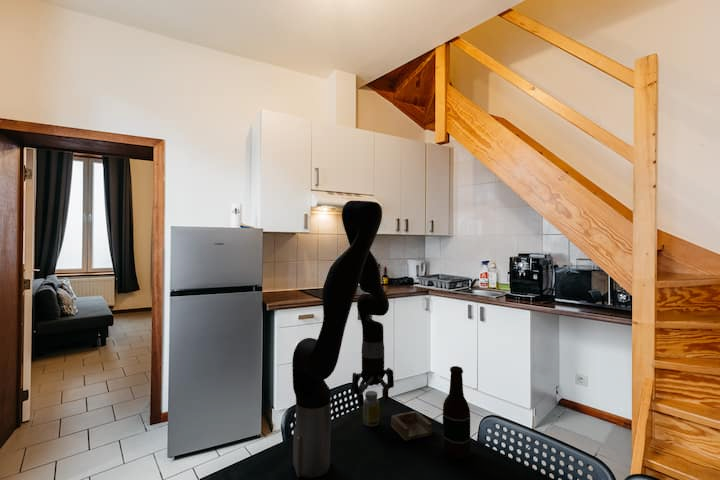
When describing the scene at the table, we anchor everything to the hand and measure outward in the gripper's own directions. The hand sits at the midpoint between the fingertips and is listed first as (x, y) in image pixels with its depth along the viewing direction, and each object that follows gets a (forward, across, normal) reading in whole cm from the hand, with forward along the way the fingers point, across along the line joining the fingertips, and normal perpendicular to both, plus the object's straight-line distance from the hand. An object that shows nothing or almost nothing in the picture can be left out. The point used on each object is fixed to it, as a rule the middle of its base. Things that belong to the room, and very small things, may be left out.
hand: (373, 402), depth 116 cm
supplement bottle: (+7, -1, 0) cm, 7 cm away
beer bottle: (+7, +16, -24) cm, 29 cm away
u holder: (+7, +10, -9) cm, 15 cm away
